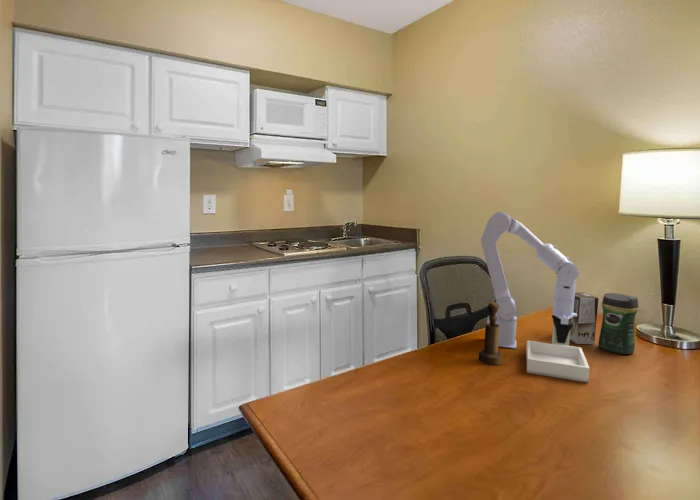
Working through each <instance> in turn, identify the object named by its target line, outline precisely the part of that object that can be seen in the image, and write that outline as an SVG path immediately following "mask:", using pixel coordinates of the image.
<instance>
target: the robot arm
mask: <svg viewBox="0 0 700 500" xmlns="http://www.w3.org/2000/svg"><path fill="white" fill-rule="evenodd" d="M506 232H507V233H509V234H512V235H517V236H518V237H519V238H521V239H522V240H523V241H524V242H525V243H527V244H528V245H530V246H531V248H533V249H534V250H535V251H536V258H537V259H539V260H540V261H541V262H542V263H543V264H544V265H545V266H546V267H548V269H550V270H551V271H554V273H555V274H556V280H555V281H556V282H555V285H554V296H553V306H552V311H551V314H552V315H551V319H552V322H553V324H554V325H555V328H556V335H557V342H558V343H564V344H565V342H566V339H567V336H568V333H569V331H570V329H571V328H572V327H573V325H574V324H573V323H569V322H570V320H571V318H572V317H577V313H573V309H574V298H575V292H576V282H577V281H576V280H577V278H578V277H579V275H580V272H579V268H578V266H577V265H576V264H574V263H573V262H572V261H571V260H570V257H569V256H567V255H564V254H563V253H561V251H559V250H558V249H559V248H558V246H557V245H555V244H554V245H552V243H543V242H542V241H541V240H540V239H539V238H538V237H537V236H536V235H535V234H534V233H532V232H531V230H529V229H528V228H527V227H526V226H525V225H524V224H523V223H521V222H520V221H519V220H517V219H515V218H513V217H511V216H510V215H509V214H508V213H506V212H504V211H498V212H495V213H494V214H493V215H492V216H491V217H490V218H489V219H488V221H487V223H486V225H485V227H484V229H483V233H482V235H481V237H480V244H481V248H482V252H483V255H484V258H485V259H484V260H485V263H486V266H487V270H488V274H489V277H490V281H491V286H492V287H493V288H492V289H493V292H494V296H495V302H497V303H498V304H499V309H498V311H497V312H496V317H497V321H496V323H495V324H498V325H499V340H498V347H501V348H509V349H514V350H515V349H517V341H518V340H516V336H517V323H518V322H517V321H518V317H517V316H516V315H517V313H518V312H517V311H518V309H517V305H516V301H515V300H514V298H513V297H512V296H511V293H510V290H509V286H508V283H507V279H506V276H505V273H504V268H503V265H502V261H501V257H500V253H499V251H498V247H497V242H498V240H499V239H500V237H501V236H502V235H503V234H504V233H506ZM489 316H490V315H487V319H486V324H487V323H490V321H489Z"/></svg>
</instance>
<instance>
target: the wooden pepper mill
mask: <svg viewBox="0 0 700 500" xmlns="http://www.w3.org/2000/svg"><path fill="white" fill-rule="evenodd" d="M487 308H488V311H489V312H490V315H488V316H489V321H490V323H487V322H486V323H485V330H484V331H485V333H484V346H483V347H484V348H483V349H481V350H480V351H478V361H479V362H480V363H482V364H485V365H491V366H492V365H493V366H499V365H501V364H502V363H503V354H502V353H501V352H500V351H499V346H498V340H499V325H498V324H495V323H496V321H497V317H496V312H497V311H498V309H499V304H498V303H497V302H496V301H490V302H489V303H488V305H487Z"/></svg>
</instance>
